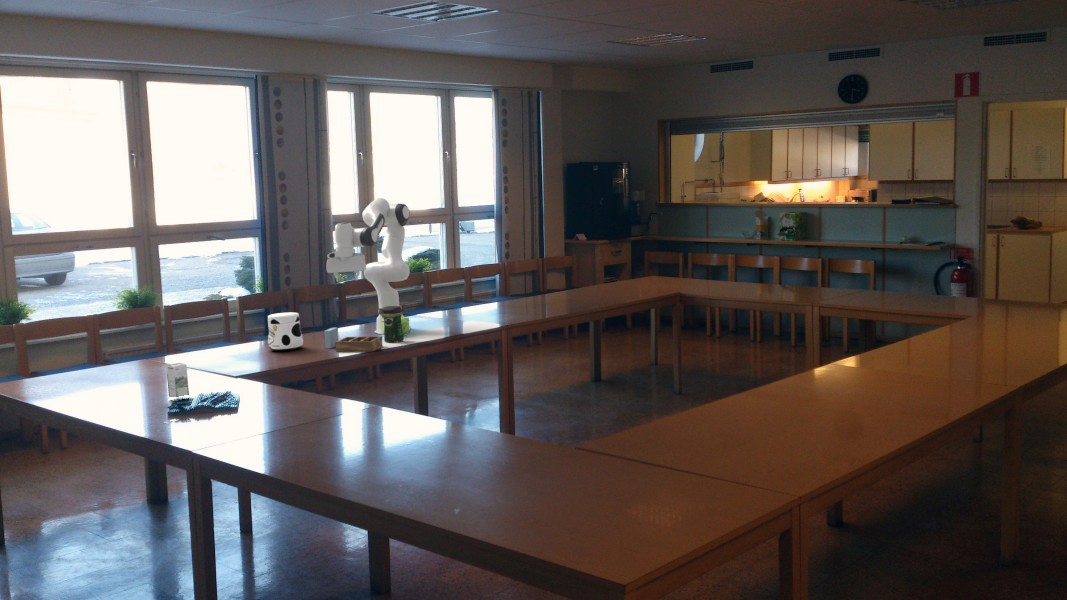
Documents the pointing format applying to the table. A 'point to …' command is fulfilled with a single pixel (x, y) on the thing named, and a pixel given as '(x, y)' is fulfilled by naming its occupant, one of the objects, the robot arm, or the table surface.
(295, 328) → the milk container
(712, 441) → the table surface
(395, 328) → the coffee jar
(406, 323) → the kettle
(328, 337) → the light blue thin block
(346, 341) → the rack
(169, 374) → the syrup box
